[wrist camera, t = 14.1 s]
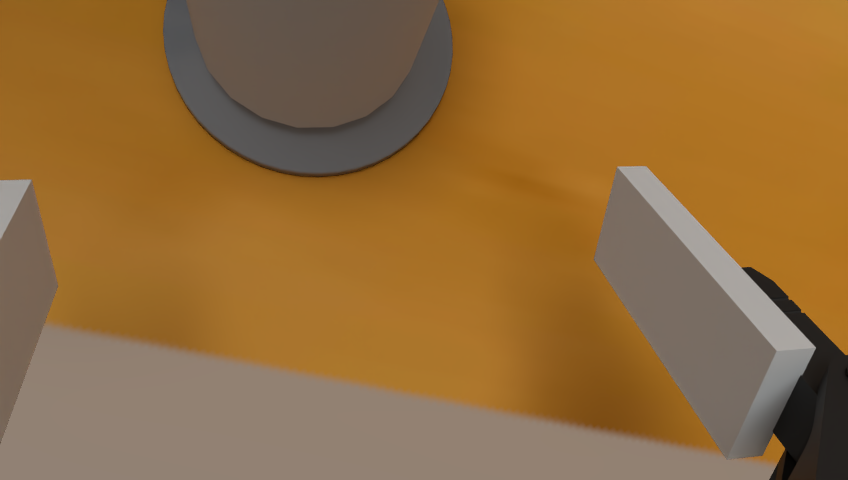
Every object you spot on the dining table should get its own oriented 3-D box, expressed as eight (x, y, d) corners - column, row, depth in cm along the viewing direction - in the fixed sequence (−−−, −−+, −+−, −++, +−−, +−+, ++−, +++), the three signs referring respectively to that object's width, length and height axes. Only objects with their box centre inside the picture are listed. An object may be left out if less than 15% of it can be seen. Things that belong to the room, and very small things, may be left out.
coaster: (167, 179, 24) (164, 174, 23) (164, -92, 26) (162, -102, 25) (459, 174, 26) (463, 169, 25) (438, -77, 28) (441, -86, 27)
